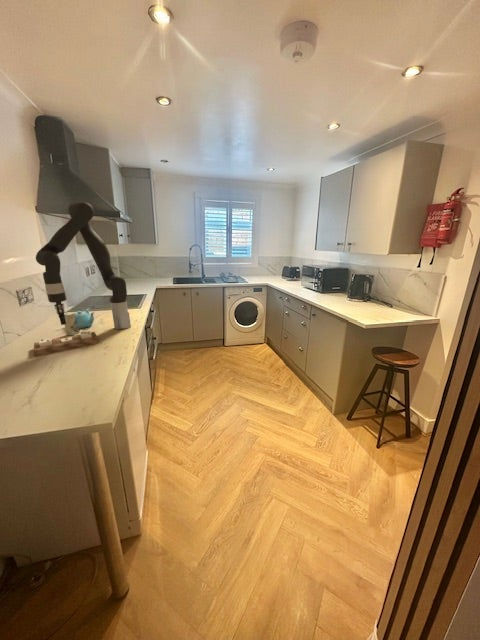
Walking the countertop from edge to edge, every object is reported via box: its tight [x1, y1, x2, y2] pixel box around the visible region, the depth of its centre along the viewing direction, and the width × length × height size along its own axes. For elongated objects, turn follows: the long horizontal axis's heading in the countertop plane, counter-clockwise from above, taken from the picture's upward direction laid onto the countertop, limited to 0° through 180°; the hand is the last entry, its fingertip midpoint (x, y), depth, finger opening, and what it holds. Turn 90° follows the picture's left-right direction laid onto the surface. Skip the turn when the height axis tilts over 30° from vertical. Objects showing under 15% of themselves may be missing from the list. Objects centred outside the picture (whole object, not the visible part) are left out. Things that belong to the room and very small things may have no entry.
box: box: [64, 312, 80, 336], centre depth 151 cm, size 5×4×13 cm
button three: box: [79, 330, 92, 339], centre depth 141 cm, size 5×5×4 cm
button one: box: [61, 336, 73, 343], centre depth 136 cm, size 5×5×4 cm
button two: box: [38, 337, 53, 347], centre depth 130 cm, size 5×5×4 cm
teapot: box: [64, 307, 95, 330], centre depth 166 cm, size 15×15×10 cm
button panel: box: [33, 331, 100, 357], centre depth 136 cm, size 28×12×3 cm, turn 127°
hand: (63, 324), depth 133 cm, fingers closed
